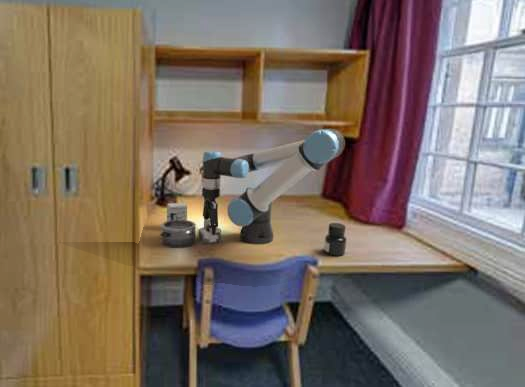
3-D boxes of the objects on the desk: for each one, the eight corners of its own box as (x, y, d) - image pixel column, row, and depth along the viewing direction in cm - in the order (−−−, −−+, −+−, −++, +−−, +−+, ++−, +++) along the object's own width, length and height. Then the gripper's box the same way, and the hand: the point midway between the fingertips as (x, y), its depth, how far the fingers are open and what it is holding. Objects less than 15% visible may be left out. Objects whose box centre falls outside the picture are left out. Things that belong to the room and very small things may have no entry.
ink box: (168, 231, 190) (168, 206, 187) (166, 228, 194) (166, 203, 192) (187, 229, 193) (187, 205, 191) (184, 226, 198) (185, 202, 195)
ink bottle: (327, 246, 182) (329, 220, 179) (347, 250, 179) (350, 224, 176) (321, 254, 173) (323, 226, 170) (342, 258, 170) (345, 230, 167)
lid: (225, 239, 184) (226, 225, 182) (212, 245, 175) (212, 231, 174) (207, 234, 188) (207, 221, 187) (193, 240, 180) (193, 226, 178)
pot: (179, 233, 188) (180, 216, 187) (204, 239, 182) (205, 222, 180) (150, 244, 173) (150, 226, 171) (177, 252, 166) (177, 233, 164)
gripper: (196, 182, 185) (195, 229, 190) (208, 194, 165) (207, 247, 170) (213, 181, 188) (211, 228, 193) (227, 193, 167) (225, 245, 172)
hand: (209, 237), depth 181 cm, fingers closed on lid, 10 cm apart
